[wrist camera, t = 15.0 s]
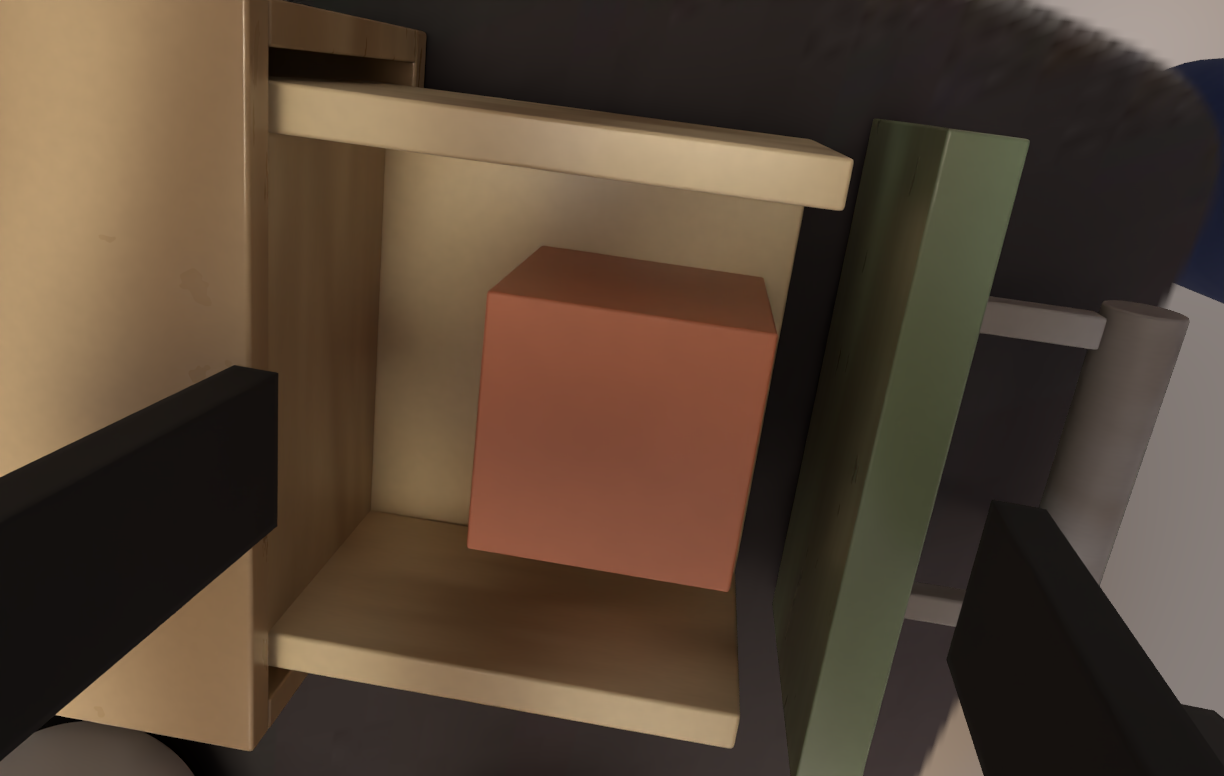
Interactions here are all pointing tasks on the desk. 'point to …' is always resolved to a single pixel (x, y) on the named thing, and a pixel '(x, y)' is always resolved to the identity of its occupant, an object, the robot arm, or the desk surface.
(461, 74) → the desk surface
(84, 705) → the cabinet
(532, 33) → the desk surface
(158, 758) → the teacup
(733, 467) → the block
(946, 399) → the drawer
